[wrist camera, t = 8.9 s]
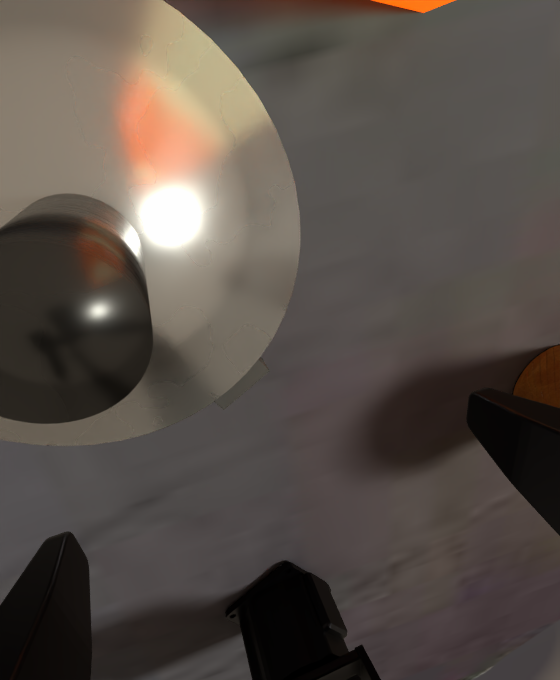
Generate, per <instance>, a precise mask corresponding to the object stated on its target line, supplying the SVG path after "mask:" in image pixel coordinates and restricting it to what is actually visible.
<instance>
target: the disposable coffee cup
mask: <svg viewBox="0 0 560 680" xmlns="http://www.w3.org/2000/svg"><path fill="white" fill-rule="evenodd" d="M513 395H515V396H519V397H523V398H526V399H530V400H533V401H537V402H540V403H544V404H547V405H551V406H554V407H558V408H560V345H558V346H555V347H552V348H550V349H548V350H546V351H544V352H543V353H541V354H540V355H539V356H537V357H536V358H535V359H534V360H533V361H532V362H531V363H530V364H529V365H528V366H527V367H526V368H525V370H524V371H523V373H522V374H521V376H520V377H519V379H518V381H517V383H516V386H515V388H514V392H513Z"/></svg>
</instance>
